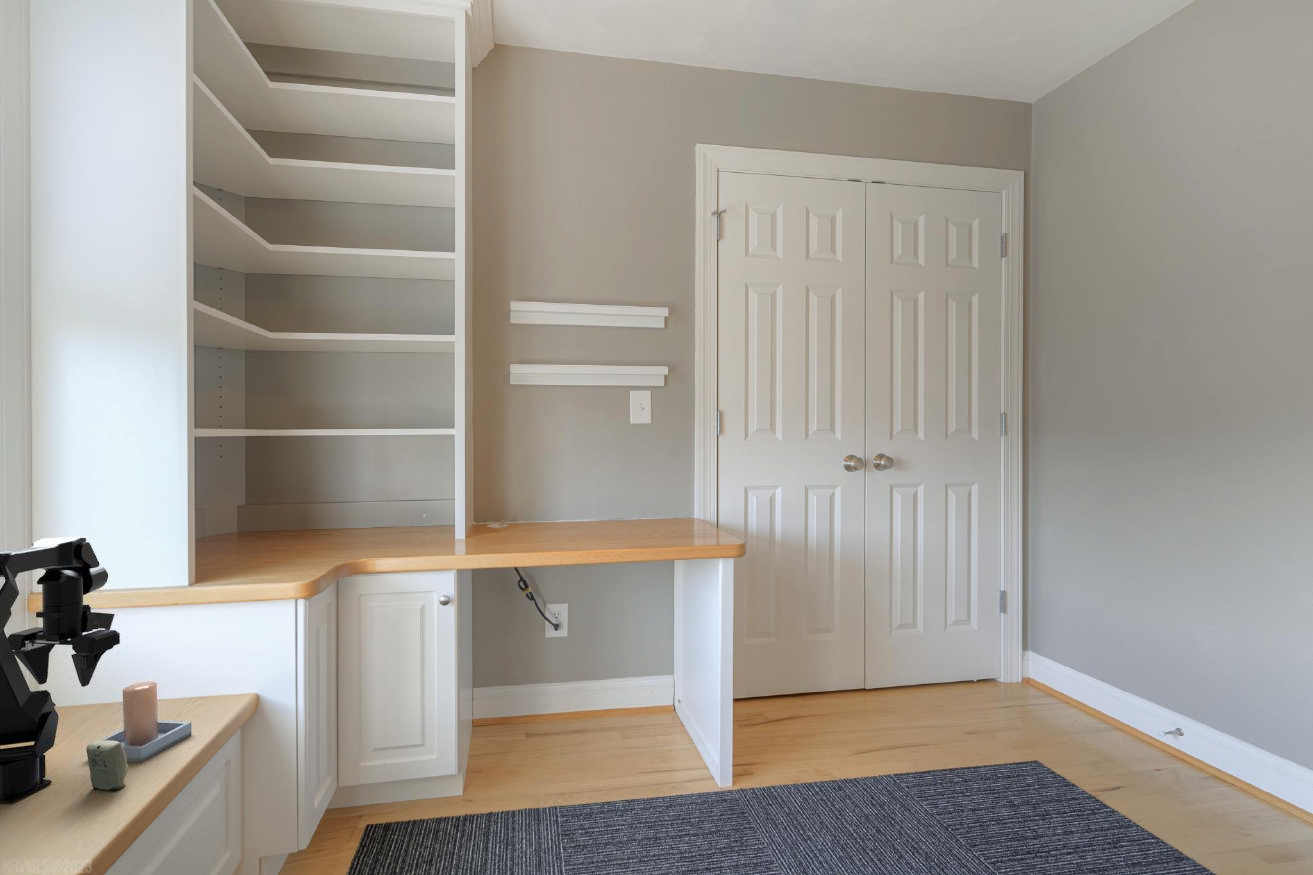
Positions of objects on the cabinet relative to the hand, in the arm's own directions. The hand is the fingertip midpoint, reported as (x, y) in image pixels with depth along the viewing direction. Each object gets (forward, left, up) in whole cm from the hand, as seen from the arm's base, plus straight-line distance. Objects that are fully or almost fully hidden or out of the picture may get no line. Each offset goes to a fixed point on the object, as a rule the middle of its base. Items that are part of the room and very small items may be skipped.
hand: (63, 684), depth 123 cm
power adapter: (-10, -20, -13) cm, 26 cm away
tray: (+4, -12, -13) cm, 18 cm away
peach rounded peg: (+4, -12, -12) cm, 18 cm away
